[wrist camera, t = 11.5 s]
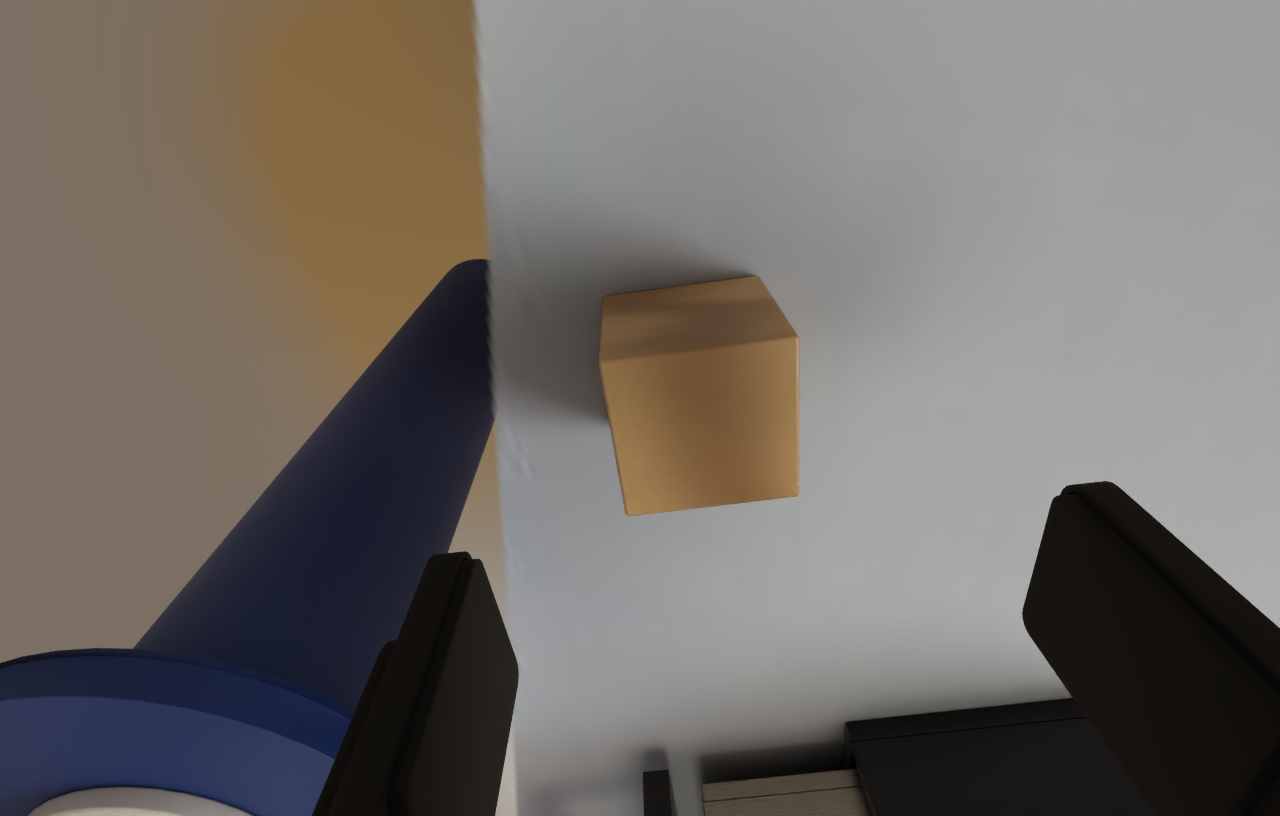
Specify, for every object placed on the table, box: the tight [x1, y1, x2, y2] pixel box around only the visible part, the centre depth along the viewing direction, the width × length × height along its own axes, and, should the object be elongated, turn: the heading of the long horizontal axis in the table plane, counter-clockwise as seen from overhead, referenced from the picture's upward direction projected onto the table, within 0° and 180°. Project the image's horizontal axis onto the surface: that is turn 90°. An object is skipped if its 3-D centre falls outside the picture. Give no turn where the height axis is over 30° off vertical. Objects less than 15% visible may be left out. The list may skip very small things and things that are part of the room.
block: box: [599, 276, 799, 516], centre depth 17 cm, size 5×5×5 cm
